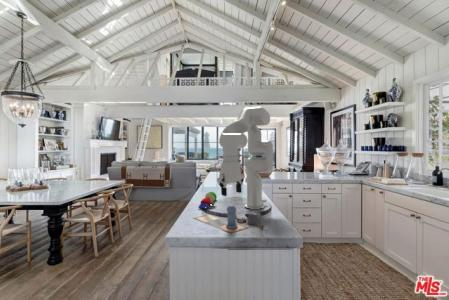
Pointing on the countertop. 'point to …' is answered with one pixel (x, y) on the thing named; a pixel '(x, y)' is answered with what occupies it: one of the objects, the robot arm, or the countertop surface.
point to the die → (254, 218)
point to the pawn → (231, 217)
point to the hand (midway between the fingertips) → (231, 193)
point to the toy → (208, 200)
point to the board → (219, 223)
